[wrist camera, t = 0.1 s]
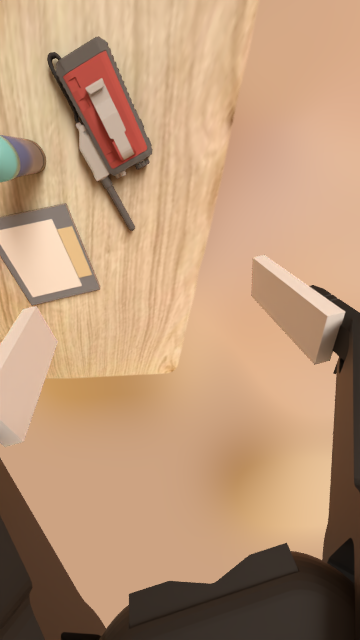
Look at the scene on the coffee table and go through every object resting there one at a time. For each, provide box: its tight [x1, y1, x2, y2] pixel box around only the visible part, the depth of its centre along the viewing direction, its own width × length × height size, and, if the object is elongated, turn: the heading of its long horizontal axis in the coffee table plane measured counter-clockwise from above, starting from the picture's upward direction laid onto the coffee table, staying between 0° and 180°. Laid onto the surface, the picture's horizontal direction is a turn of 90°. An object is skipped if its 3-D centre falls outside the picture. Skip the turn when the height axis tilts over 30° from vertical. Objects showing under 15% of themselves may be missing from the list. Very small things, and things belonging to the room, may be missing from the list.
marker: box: [0, 135, 46, 182], centre depth 26 cm, size 4×4×12 cm
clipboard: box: [0, 203, 100, 305], centre depth 38 cm, size 14×12×1 cm
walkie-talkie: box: [47, 36, 152, 231], centre depth 31 cm, size 9×4×20 cm
